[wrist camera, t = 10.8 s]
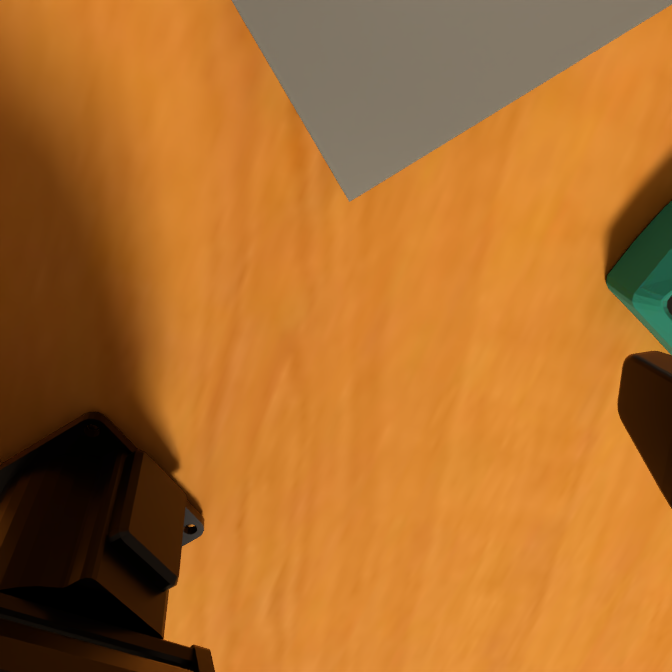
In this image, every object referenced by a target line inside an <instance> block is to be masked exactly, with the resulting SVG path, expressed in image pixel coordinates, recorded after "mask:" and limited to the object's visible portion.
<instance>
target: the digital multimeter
mask: <svg viewBox="0 0 672 672" xmlns="http://www.w3.org/2000/svg"><path fill="white" fill-rule="evenodd" d="M606 284H607V286H608V289H609V290H610V291H611V292H612V293H613V294H614V295H615V296H616V297H617V298H618V299H619V300H620V301H621V302H622V303H623V304H624V305H625V306H626V307H627V308H628V309H629V310H630V311H631V312H632V313H633V314H634V315H635V317H636V318H637V319H638V320H639V321H640V322H641V323H642V324H643V325H644V326H645V327H646V328H647V329H648V330H649V331H650V332H651V333H652V334H653V335H654V337H655V338H656V339H657V340H658V341H659V342H660V343H661V344H662V345H663V346H664V348H665V349H666V350H667V351H668V352H669V353H670V354H671V355H672V201H671V202H670V203H669V204H668V205H666V206H665V207H664V208H663V209H662V211H661V212H660V213H659V214H658V215H657V216H656V217H655V218H654V219H653V221H652V222H651V223H650V224H649V225H648V226H647V227H646V228H645V229H644V231H643V232H642V233H641V234H640V235H639V236H638V237H637V238H636V240H635V241H634V242H633V243H632V245H631V246H630V247H629V248H628V250H627V251H626V252H625V254H624V255H623V256H622V257H621V259H620V260H619V261H618V262H617V264H616V265H615V266H614V267H613V269H612V270H611V271H610V273H609V274H608V275H607V280H606ZM669 312H670V313H669Z"/></svg>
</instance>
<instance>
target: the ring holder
mask: <svg viewBox="0 0 672 672" xmlns="http://www.w3.org/2000/svg"><path fill="white" fill-rule="evenodd" d="M232 2H233V3H234V5H235V7H236V9H237V10H238V12H239V14H240V15H241V17H242V19H243V21H244V22H245V24H246V26H247V27H248V29H249V31H250V32H251V34H252V36H253V38H254V39H255V41H256V43H257V44H258V46H259V48H260V50H261V51H262V53H263V55H264V56H265V58H266V60H267V62H268V63H269V65H270V67H271V68H272V70H273V72H274V74H275V75H276V77H277V79H278V80H279V82H280V84H281V86H282V87H283V89H284V91H285V92H286V94H287V96H288V98H289V99H290V101H291V103H292V104H293V106H294V108H295V109H296V111H297V113H298V115H299V116H300V118H301V120H302V121H303V123H304V125H305V127H306V128H307V130H308V132H309V133H310V135H311V137H312V139H313V140H314V142H315V144H316V145H317V147H318V149H319V151H320V152H321V154H322V156H323V157H324V159H325V161H326V163H327V164H328V166H329V168H330V169H331V171H332V173H333V175H334V176H335V178H336V180H337V181H338V183H339V185H340V186H341V188H342V190H343V192H344V193H345V195H346V197H347V198H348V200H349V202H350V201H352V200H353V199H355V198H356V197H358V196H360V195H361V194H363V193H365V192H366V191H368V190H370V189H371V188H373V187H374V186H376V185H378V184H379V183H381V182H383V181H384V180H386V179H387V178H389V177H391V176H392V175H394V174H396V173H397V172H399V171H401V170H402V169H404V168H405V167H407V166H409V165H410V164H412V163H414V162H415V161H417V160H418V159H420V158H422V157H423V156H425V155H427V154H428V153H430V152H432V151H433V150H435V149H436V148H438V147H440V146H441V145H443V144H445V143H446V142H448V141H449V140H451V139H453V138H454V137H456V136H458V135H459V134H461V133H463V132H464V131H466V130H467V129H469V128H471V127H472V126H474V125H476V124H477V123H479V122H480V121H482V120H484V119H485V118H487V117H489V116H490V115H492V114H494V113H495V112H497V111H498V110H500V109H502V108H503V107H505V106H507V105H508V104H510V103H512V102H513V101H515V100H516V99H518V98H520V97H521V96H523V95H525V94H526V93H528V92H529V91H531V90H533V89H534V88H536V87H538V86H539V85H541V84H543V83H544V82H546V81H547V80H549V79H551V78H552V77H554V76H556V75H557V74H559V73H560V72H562V71H564V70H565V69H567V68H569V67H570V66H572V65H574V64H575V63H577V62H578V61H580V60H582V59H583V58H585V57H587V56H588V55H590V54H591V53H593V52H595V51H596V50H598V49H600V48H601V47H603V46H605V45H606V44H608V43H609V42H611V41H613V40H614V39H616V38H618V37H619V36H621V35H622V34H624V33H626V32H627V31H629V30H631V29H632V28H634V27H636V26H637V25H639V24H640V23H642V22H644V21H645V20H647V19H649V18H650V17H652V16H653V15H655V14H657V13H658V12H660V11H662V10H663V9H665V8H667V7H668V6H670V5H671V4H672V0H232Z"/></svg>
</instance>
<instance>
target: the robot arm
mask: <svg viewBox="0 0 672 672" xmlns="http://www.w3.org/2000/svg"><path fill="white" fill-rule="evenodd" d="M618 412H619V416H620V419H621V421H622V423H623V425H624V426H625V428H626V430H627V432H628V433H629V435H630V437H631V439H632V441H633V442H634V444H635V446H636V448H637V449H638V451H639V453H640V455H641V457H642V458H643V460H644V462H645V464H646V465H647V467H648V469H649V471H650V473H651V474H652V476H653V478H654V480H655V482H656V483H657V485H658V487H659V489H660V490H661V492H662V494H663V495H664V497H665V499H666V500H667V502H668V504H669V505H670V507H671V508H672V355H669V354H666V353H662V352H659V351H649V352H642V353H636V354H631V355H629V356H628V357H627V358H626V359H625V361H624V363H623V367H622V374H621V381H620V388H619V395H618ZM88 425H96V426H97V427H99V430H91V429H89V428H88V427H87V426H88ZM188 524H193V525H195V526H193V527H188V526H186V525H188ZM203 531H204V518H203V516H202V515H201V514H200V513H199V512H198V511H197V510H196V509H195V508H194V507H193V506H192V505H191V504H190V503H189V502H188V501H187V500H186V494H185V493H184V492H183V491H182V489H181V488H180V487H179V486H178V485H177V484H176V483H175V482H174V481H173V480H172V479H171V478H170V477H169V476H168V475H167V474H166V473H165V472H164V471H163V470H162V469H161V468H160V467H159V466H158V465H157V464H156V463H155V462H154V460H153V459H152V458H151V457H150V456H149V455H148V454H147V453H146V452H143V451H141V450H138V449H137V448H136V447H135V446H134V445H133V444H132V443H131V442H130V441H129V440H128V439H127V438H126V437H125V436H124V435H123V434H122V433H121V432H120V431H119V430H118V429H117V428H116V426H115V425H114V424H113V423H112V422H111V421H110V420H109V419H108V418H107V417H106V416H104V415H103V414H101V413H98V412H89V413H86V414H84V415H82V416H81V417H79V418H77V419H76V420H74V421H72V422H71V423H69V424H67V425H66V426H64V427H62V428H61V429H59V430H57V431H56V432H54V433H52V434H51V435H49V436H47V437H46V438H44V439H42V440H41V441H39V442H37V443H36V444H34V445H32V446H31V447H29V448H27V449H26V450H24V451H22V452H21V453H19V454H17V455H16V456H14V457H12V458H11V459H9V460H7V461H6V462H4V463H2V464H1V465H0V672H215V670H214V665H213V661H212V656H211V652H210V649H207V648H203V647H200V646H196V645H192V646H191V647H187V646H184V645H180V644H177V643H173V642H170V641H166V640H163V638H164V629H165V620H166V611H167V602H168V593H169V589H170V588H172V587H174V586H176V585H177V582H178V577H179V569H180V559H181V549H182V546H184V545H185V544H187V543H189V542H191V541H193V540H194V539H196V538H198V537H199V536H201V535H202V533H203Z"/></svg>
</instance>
